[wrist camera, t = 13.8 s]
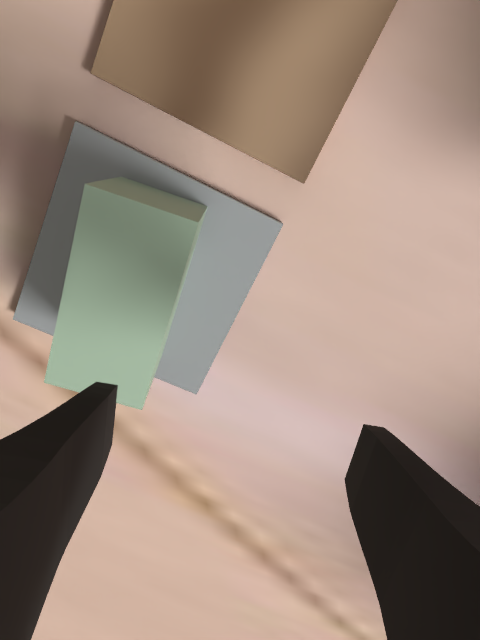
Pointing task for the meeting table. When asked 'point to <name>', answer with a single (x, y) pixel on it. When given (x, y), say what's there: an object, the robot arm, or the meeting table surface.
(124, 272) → the sage brick
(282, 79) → the walnut board
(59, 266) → the grey mat
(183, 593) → the meeting table surface
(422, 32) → the meeting table surface
